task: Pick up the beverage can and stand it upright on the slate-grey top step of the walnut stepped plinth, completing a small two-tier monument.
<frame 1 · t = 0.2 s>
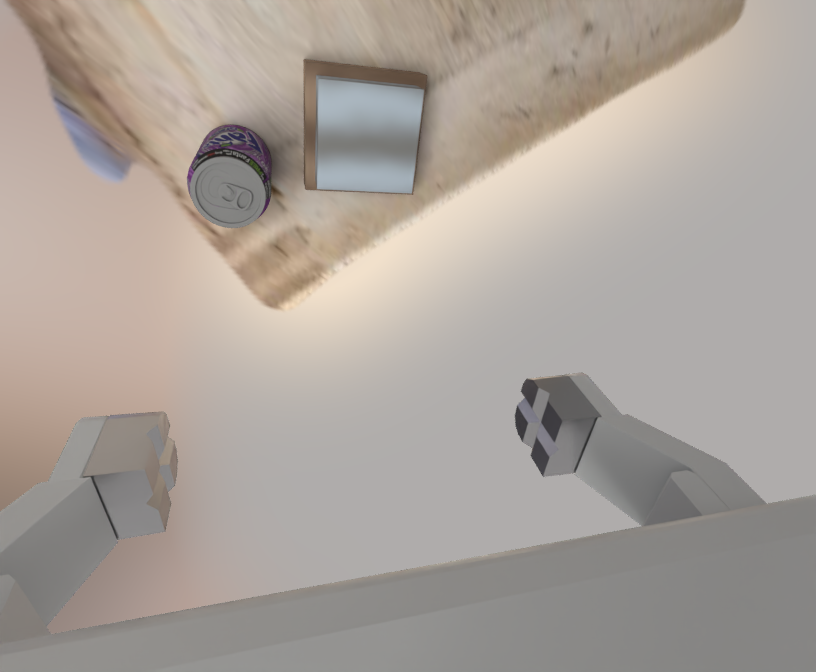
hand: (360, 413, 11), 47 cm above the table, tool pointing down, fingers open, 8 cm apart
stepped plinth: (360, 128, 52), on the table
beverage can: (236, 158, 51), on the table
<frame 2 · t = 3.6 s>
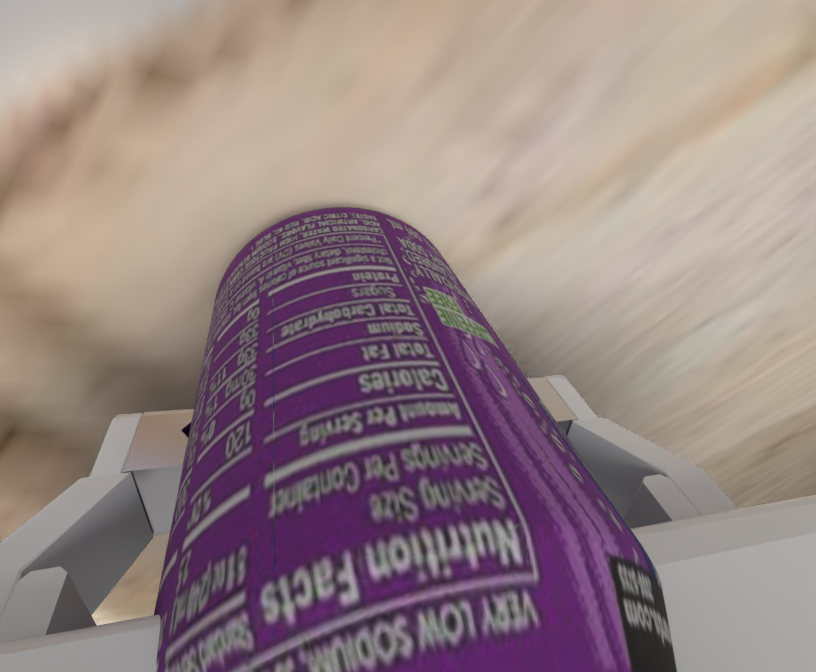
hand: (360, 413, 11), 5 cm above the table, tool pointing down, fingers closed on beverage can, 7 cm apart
beverage can: (338, 308, 15), on the table, touching gripper
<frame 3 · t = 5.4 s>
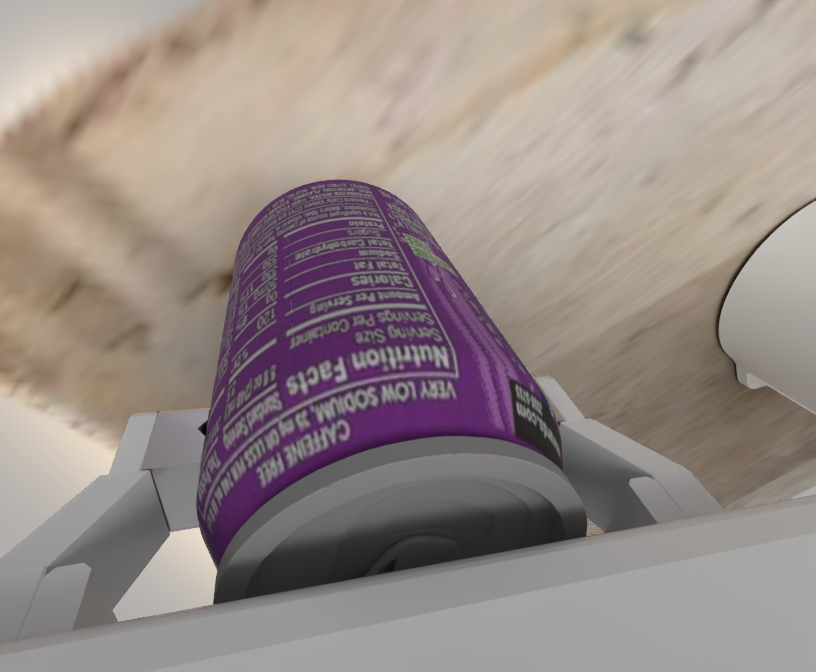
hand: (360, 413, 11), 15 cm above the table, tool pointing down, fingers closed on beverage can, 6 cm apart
beverage can: (337, 269, 18), point 7 cm above the table, touching gripper
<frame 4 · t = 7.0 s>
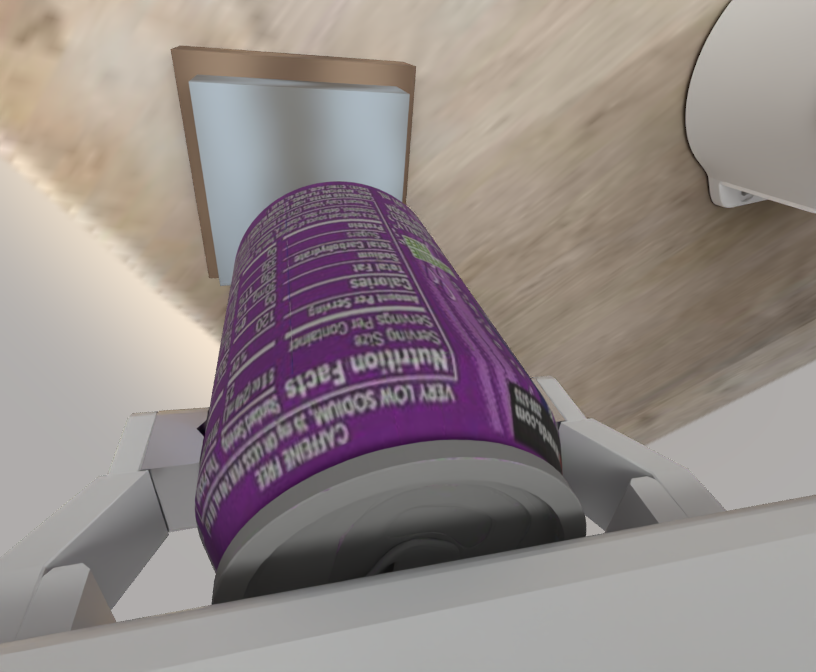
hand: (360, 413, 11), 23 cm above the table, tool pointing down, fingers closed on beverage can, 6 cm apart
stepped plinth: (302, 166, 30), on the table
beverage can: (337, 270, 18), point 15 cm above the table, touching gripper
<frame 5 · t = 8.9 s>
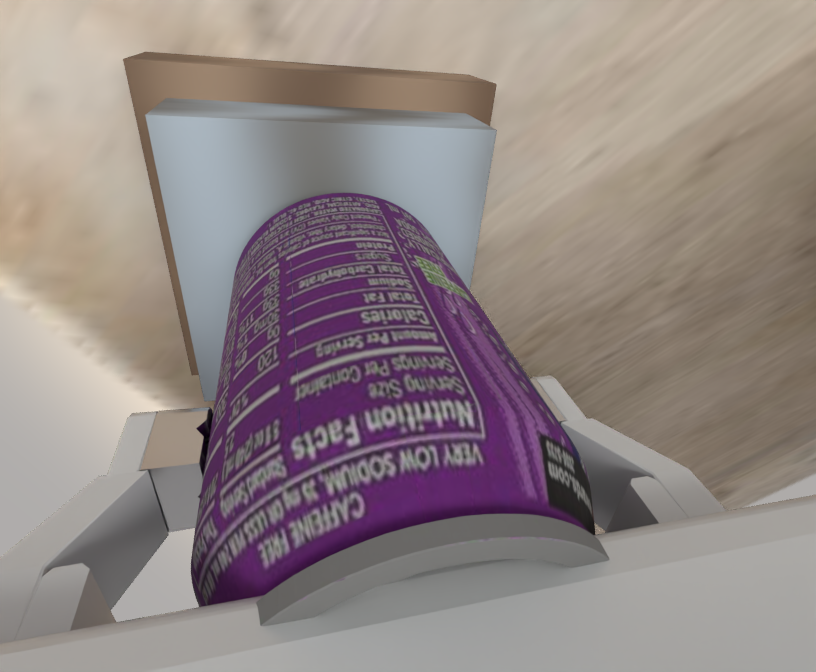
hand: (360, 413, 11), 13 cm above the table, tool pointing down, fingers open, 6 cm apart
stepped plinth: (322, 217, 21), on the table
beverage can: (341, 283, 17), point 6 cm above the table, touching gripper, stepped plinth
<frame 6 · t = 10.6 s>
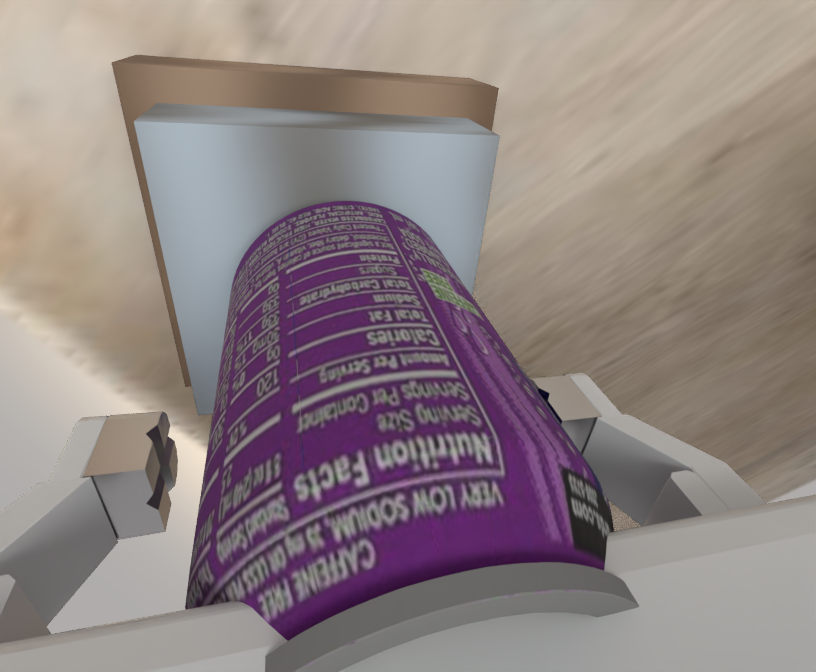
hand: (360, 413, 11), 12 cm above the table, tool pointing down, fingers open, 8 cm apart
stepped plinth: (319, 224, 21), on the table
beverage can: (342, 293, 16), point 6 cm above the table, touching stepped plinth
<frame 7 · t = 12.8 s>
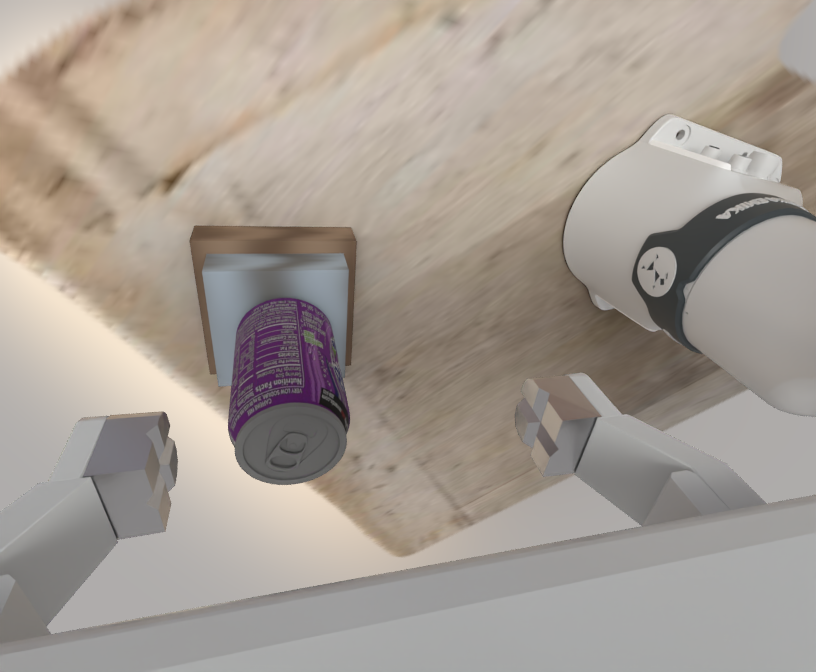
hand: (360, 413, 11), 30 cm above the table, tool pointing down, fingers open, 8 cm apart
stepped plinth: (279, 293, 41), on the table
beverage can: (285, 332, 37), point 6 cm above the table, touching stepped plinth
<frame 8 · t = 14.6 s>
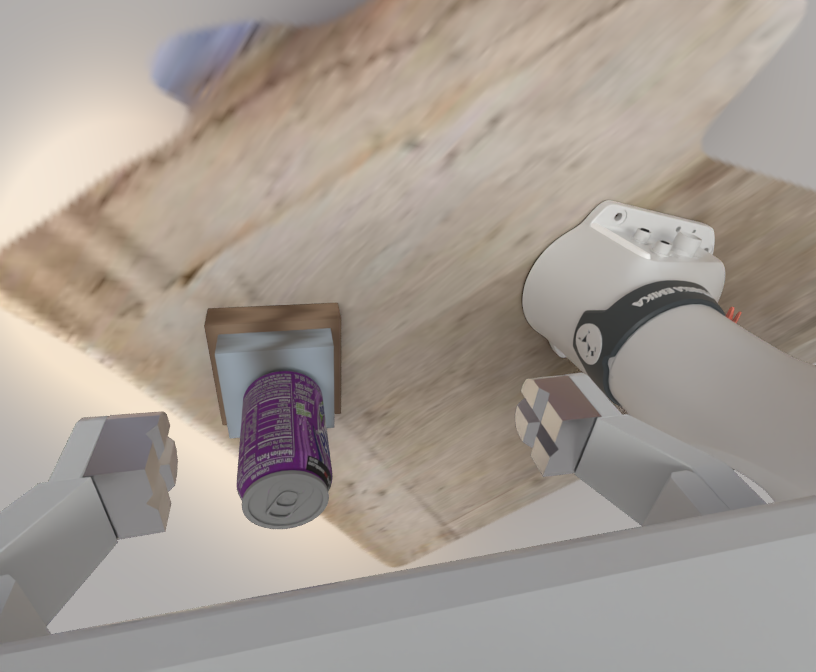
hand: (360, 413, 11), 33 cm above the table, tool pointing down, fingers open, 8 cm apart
stepped plinth: (279, 356, 49), on the table
beverage can: (283, 394, 44), point 6 cm above the table, touching stepped plinth
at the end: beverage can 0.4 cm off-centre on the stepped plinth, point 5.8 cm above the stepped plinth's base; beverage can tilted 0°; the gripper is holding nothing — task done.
